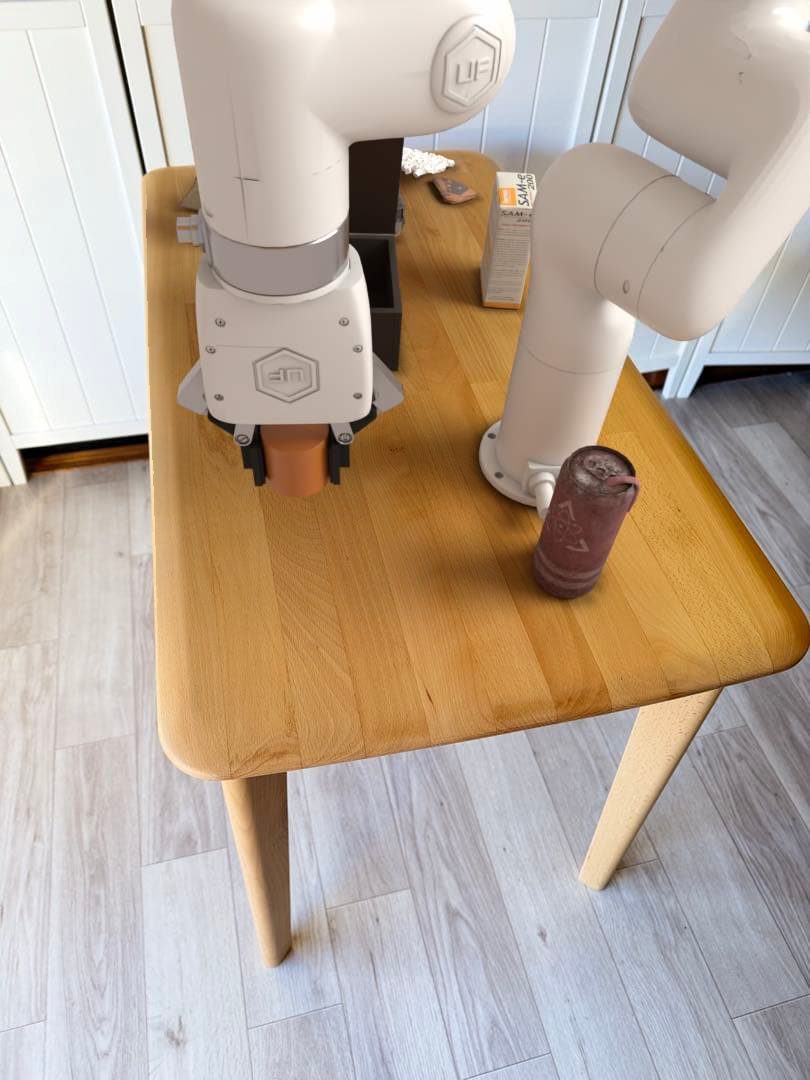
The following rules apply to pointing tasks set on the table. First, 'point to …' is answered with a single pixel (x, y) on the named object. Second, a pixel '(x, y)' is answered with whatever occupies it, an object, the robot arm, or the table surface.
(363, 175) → the chamber lid
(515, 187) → the supplement box
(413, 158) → the salt crystals
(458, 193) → the pottery shard
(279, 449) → the orange cylinder
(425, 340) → the table surface
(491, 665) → the table surface
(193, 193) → the ceramic shard
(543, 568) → the can
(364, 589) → the table surface
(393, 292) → the box
